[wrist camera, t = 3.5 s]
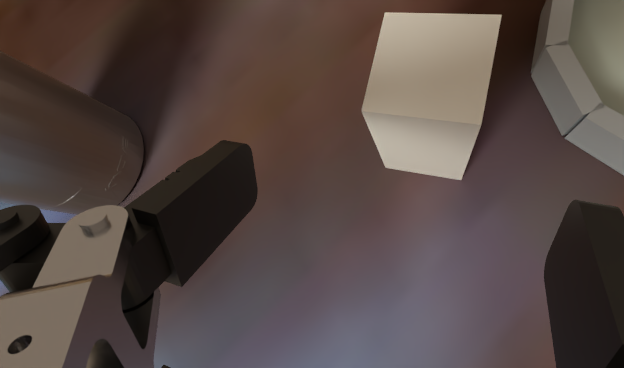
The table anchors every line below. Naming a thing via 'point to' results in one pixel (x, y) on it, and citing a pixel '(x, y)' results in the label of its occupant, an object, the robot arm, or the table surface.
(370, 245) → the table surface
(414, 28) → the cream rectangular block
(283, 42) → the table surface
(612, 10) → the round tray
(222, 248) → the table surface
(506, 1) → the table surface
